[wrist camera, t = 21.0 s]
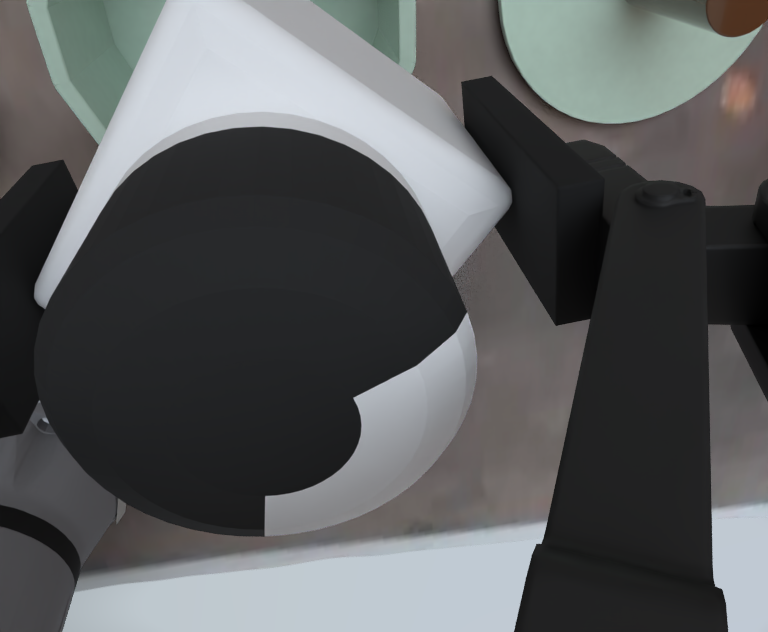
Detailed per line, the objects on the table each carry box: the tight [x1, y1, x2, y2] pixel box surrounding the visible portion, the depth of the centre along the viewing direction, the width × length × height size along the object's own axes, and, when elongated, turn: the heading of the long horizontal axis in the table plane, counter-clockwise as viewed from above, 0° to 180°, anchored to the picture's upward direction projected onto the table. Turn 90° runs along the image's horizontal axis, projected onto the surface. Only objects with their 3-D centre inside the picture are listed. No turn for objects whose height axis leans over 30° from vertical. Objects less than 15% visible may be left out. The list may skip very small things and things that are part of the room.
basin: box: [27, 0, 416, 145], centre depth 27 cm, size 14×14×8 cm
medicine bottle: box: [34, 0, 512, 537], centre depth 13 cm, size 7×7×12 cm
